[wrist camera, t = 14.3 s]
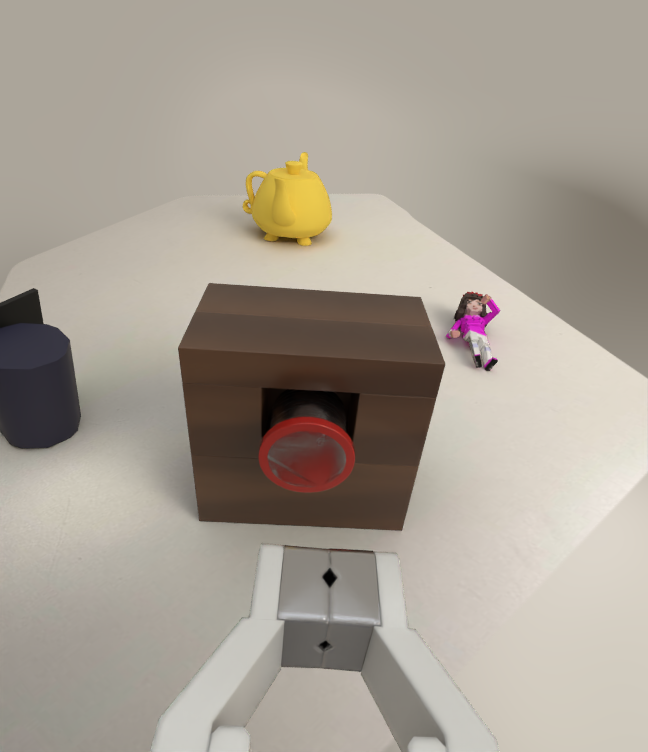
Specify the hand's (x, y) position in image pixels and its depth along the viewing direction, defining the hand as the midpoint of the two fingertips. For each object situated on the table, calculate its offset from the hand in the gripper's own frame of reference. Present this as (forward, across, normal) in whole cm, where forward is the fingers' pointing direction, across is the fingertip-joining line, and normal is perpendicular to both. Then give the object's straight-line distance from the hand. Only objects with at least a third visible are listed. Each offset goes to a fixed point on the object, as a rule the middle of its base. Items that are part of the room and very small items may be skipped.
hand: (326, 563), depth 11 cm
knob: (+14, 0, -11) cm, 18 cm away
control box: (+19, 0, -18) cm, 26 cm away
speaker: (+24, -21, -18) cm, 37 cm away
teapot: (+74, -6, -17) cm, 76 cm away
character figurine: (+42, +18, -17) cm, 49 cm away
